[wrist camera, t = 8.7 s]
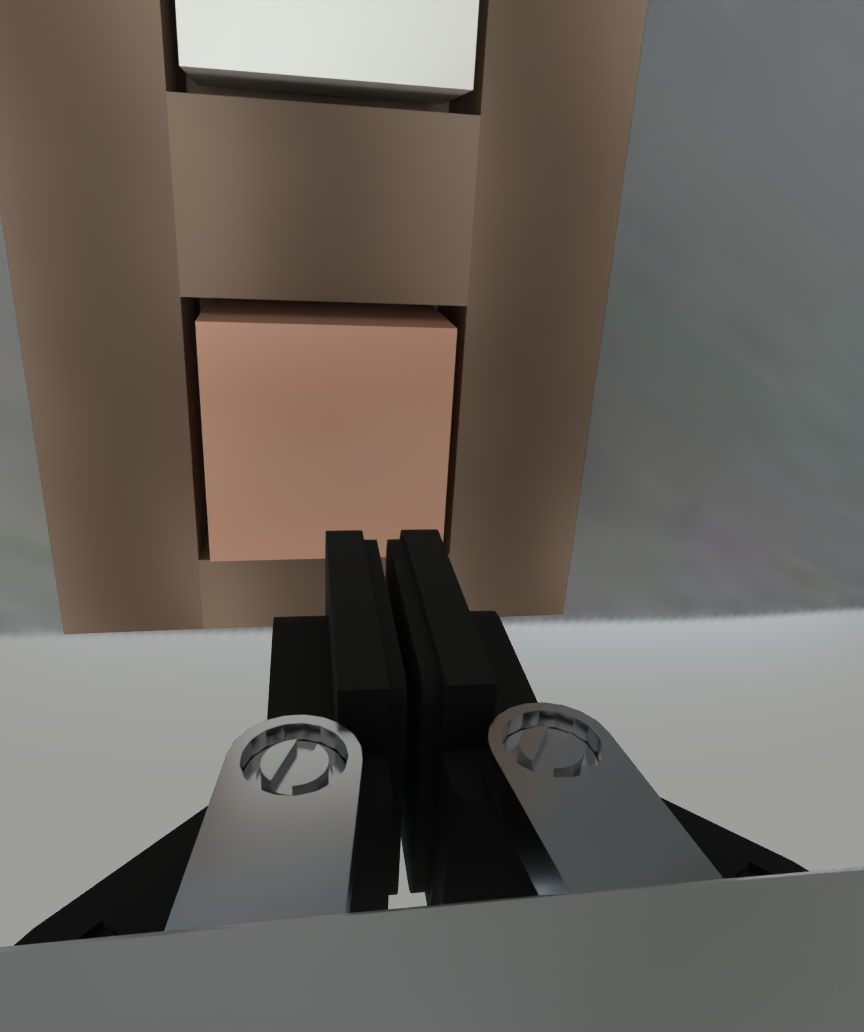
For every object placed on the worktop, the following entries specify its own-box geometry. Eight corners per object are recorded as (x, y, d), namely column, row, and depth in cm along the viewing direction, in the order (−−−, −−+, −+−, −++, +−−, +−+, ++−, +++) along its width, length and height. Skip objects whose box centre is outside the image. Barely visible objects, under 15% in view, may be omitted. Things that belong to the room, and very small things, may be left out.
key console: (605, -263, 19) (703, -398, 15) (518, 543, 28) (563, 614, 23) (-9, -367, 17) (-118, -566, 12) (103, 552, 25) (64, 633, 21)
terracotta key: (432, 305, 22) (457, 328, 18) (421, 504, 24) (442, 555, 21) (209, 298, 21) (195, 321, 17) (221, 507, 23) (210, 561, 20)
